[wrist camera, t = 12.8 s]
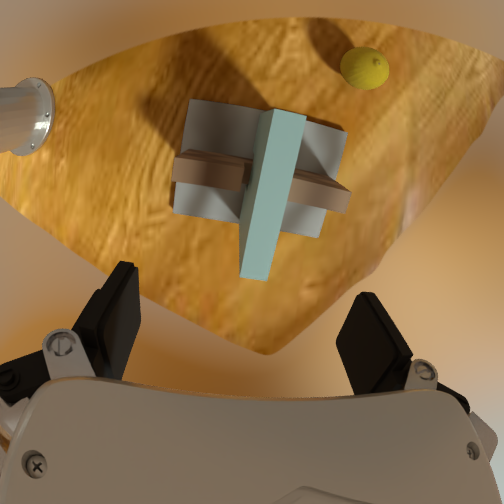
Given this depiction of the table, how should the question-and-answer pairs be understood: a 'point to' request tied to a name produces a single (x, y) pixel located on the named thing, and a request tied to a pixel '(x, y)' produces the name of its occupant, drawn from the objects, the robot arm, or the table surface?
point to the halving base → (241, 143)
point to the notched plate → (268, 190)
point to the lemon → (364, 68)
